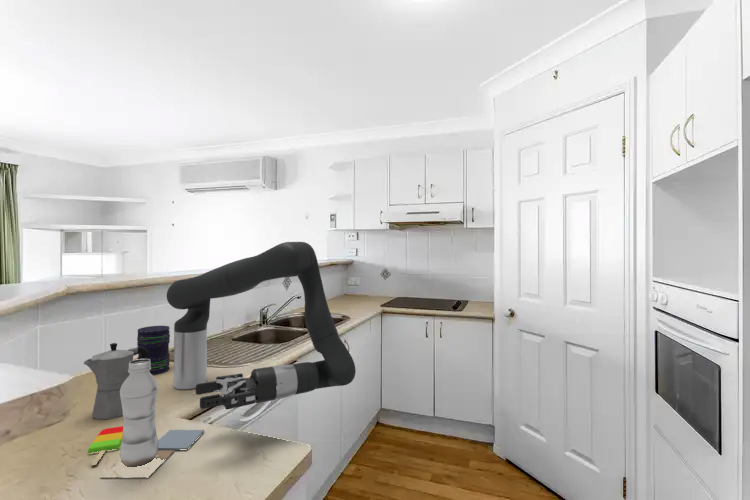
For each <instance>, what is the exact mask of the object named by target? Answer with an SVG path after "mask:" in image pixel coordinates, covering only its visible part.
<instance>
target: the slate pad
mask: <svg viewBox="0 0 750 500" xmlns="http://www.w3.org/2000/svg"><path fill="white" fill-rule="evenodd" d="M203 432H204V433H205V430H204V429H169V430H167V432H166V433H165V434H163V436H161V437H160V438H158V442H159V448H158V450H180V449H188V448H189V447H190V446H191V445H192V443H193V442H195V440H196V439H197V438H198V437H199V436H200V435H201V434H202V433H203ZM204 433H203V434H204ZM203 434H202V435H203ZM195 443H196V442H195ZM192 446H193V445H192ZM192 446H191V447H192Z"/></svg>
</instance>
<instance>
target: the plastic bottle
mask: <svg viewBox="0 0 750 500" xmlns="http://www.w3.org/2000/svg"><path fill="white" fill-rule="evenodd" d="M149 370H151V361H150V359H137V358H136V359H133V361H130V362H129V369H128V372H129V373H130V375H129V376H128V377H127V379H126V380H125V381H124V383H123V384H122V386H121V389H120V398H121V403H122V409H123V416H122V418H123V422H122V423H123V425H122V426H123V437H122V443H121V447H120V449H119V457H120V459H121V462H122V463H123V464H124V465H125V466H127V467H137V466H142V465H145V464H147V463H149V462H151V461H152V460H153V459H154V458H155V457H156V455H157V453H158V448H159V442H158V440H159V437H158V434H157V426H156V425H157V424H156V407H157V398H158V393H159V383H158V380H157V379H156V378H155V375H152V374H151V373H150V372H149ZM120 459H119V460H120Z"/></svg>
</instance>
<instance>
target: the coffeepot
mask: <svg viewBox="0 0 750 500" xmlns="http://www.w3.org/2000/svg"><path fill="white" fill-rule="evenodd" d="M109 345H110V350H107V351H104V352H101V353H98V354H95V355H92V357H91V358H88V359H86V360H85V361H84V362H83V365H86V366H87V367H88V368H89V369H90V371H92V373H93V374H94V377H95V381H96V384H97V385H96V386H97V387H96V388H97V389H96V394H95V399H94V404H93V410H92V419H95V420H101V421H102V420H110V419H115V418H119V417H123V409H122V403H121V398H120V389H121V386H122V384H123V383H124V381H125V380H126V379H127V377H128V376H129V375H130V373H129V372H128V369H129V362H130V361H133V360H134V356H136V355H138V354H139V353H141V354H142V355H141V357H140V359H147V356H148V350H146V349H145V348H144V347H143V346H140V347H138V346H136V347H131V348H128V349H117V347H118V343H117V342H113V343H110V344H109Z"/></svg>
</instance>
